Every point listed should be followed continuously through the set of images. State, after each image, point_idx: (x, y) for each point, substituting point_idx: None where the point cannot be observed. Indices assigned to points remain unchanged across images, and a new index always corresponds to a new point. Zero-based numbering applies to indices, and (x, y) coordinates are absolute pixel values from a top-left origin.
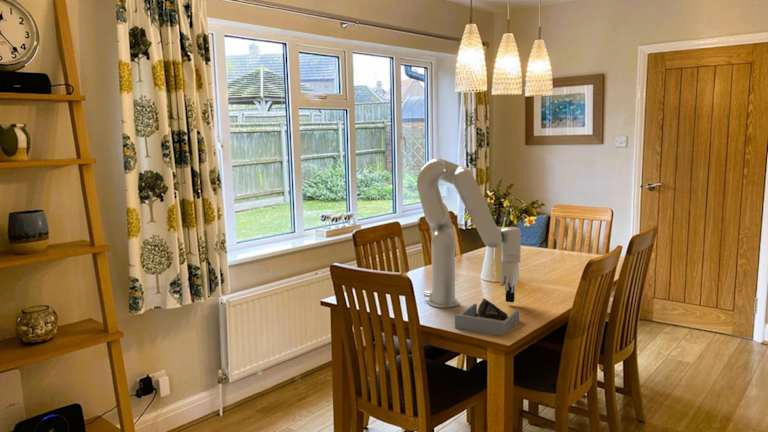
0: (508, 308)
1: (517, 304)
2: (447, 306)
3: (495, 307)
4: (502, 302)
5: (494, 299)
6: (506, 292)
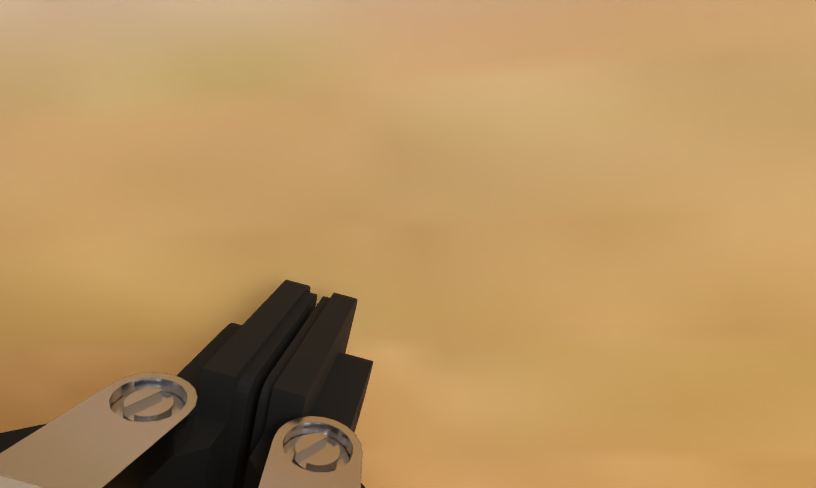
0: (165, 302)
1: (399, 420)
2: None
3: None
4: (458, 196)
5: (635, 27)
6: (144, 390)
